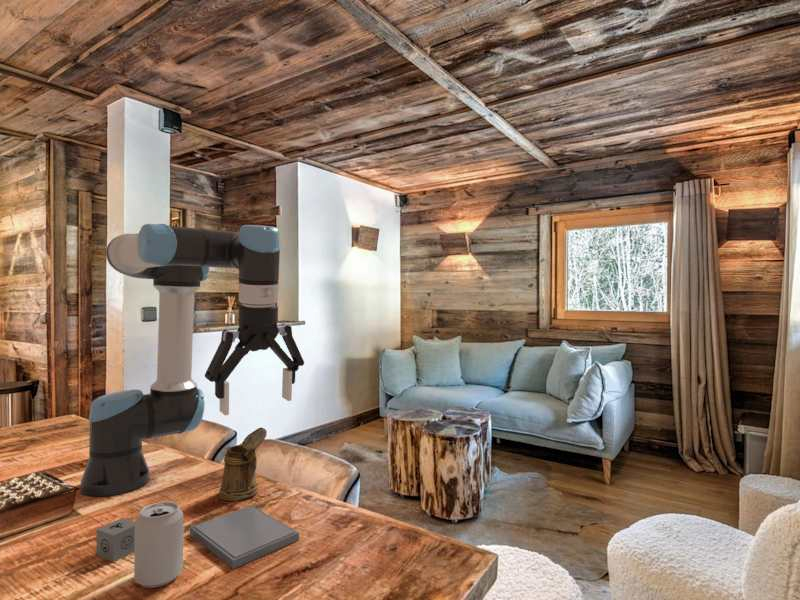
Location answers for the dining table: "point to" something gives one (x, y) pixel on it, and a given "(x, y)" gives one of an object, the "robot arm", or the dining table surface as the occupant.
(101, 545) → the dice cube
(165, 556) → the can
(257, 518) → the slate board
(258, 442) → the wooden mug
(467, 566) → the dining table surface
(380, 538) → the dining table surface
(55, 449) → the dining table surface
